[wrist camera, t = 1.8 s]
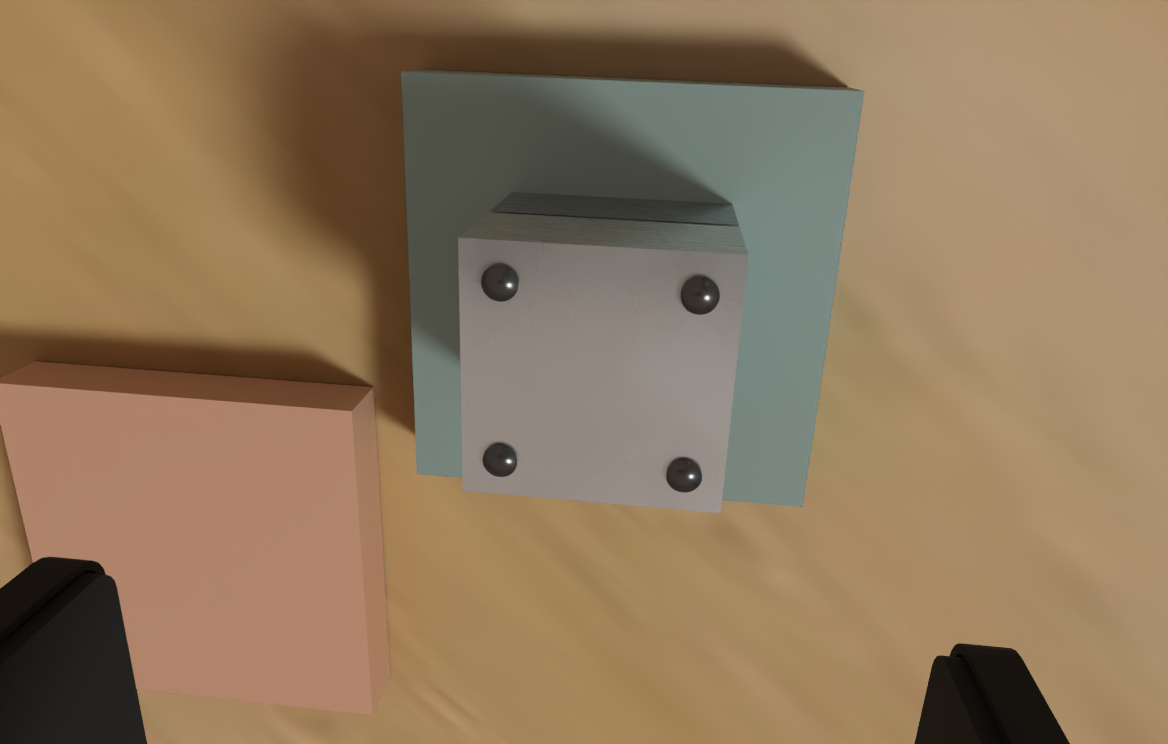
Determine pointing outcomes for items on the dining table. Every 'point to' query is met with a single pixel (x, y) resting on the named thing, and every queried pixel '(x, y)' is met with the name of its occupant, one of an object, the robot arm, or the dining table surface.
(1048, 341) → the dining table surface
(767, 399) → the stand
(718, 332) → the housing
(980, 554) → the dining table surface
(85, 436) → the stand
